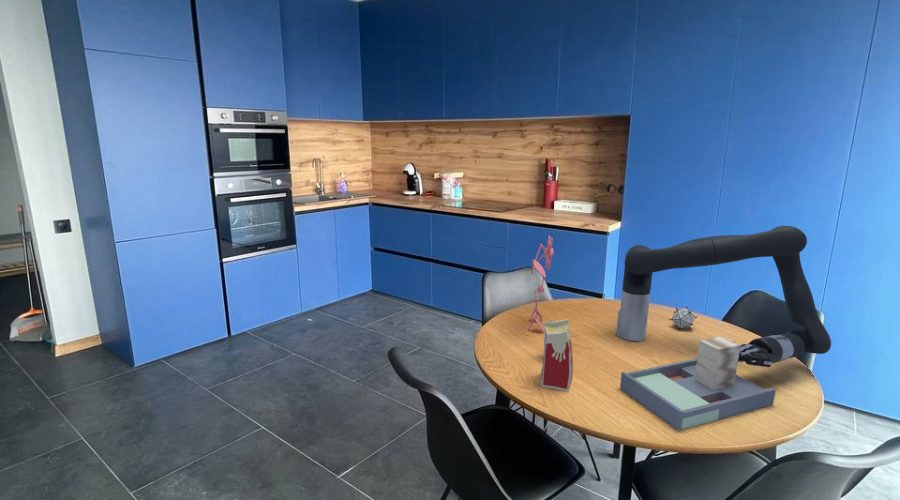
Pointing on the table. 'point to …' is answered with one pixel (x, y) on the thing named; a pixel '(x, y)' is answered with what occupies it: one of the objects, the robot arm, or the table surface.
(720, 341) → the off-white block
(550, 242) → the figurine
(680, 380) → the box
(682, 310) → the game die
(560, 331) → the milk carton
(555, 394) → the table surface
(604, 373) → the table surface
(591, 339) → the table surface
